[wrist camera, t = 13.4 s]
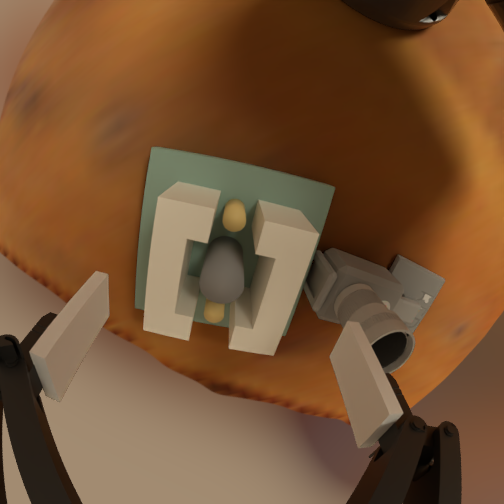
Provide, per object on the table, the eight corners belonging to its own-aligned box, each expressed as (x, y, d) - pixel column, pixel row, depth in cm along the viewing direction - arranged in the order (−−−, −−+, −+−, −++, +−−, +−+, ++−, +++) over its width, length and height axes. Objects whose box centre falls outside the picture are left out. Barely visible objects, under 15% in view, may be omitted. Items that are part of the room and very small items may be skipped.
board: (156, 146, 22) (126, 150, 16) (329, 184, 24) (361, 202, 18) (138, 299, 27) (116, 343, 21) (283, 327, 29) (293, 375, 23)
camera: (387, 288, 15) (498, 327, 17) (326, 223, 25) (433, 269, 28) (316, 394, 17) (443, 399, 20) (288, 303, 28) (396, 331, 31)
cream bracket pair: (266, 312, 27) (273, 355, 21) (160, 290, 25) (143, 329, 20) (300, 210, 23) (319, 234, 18) (178, 181, 22) (158, 196, 16)
